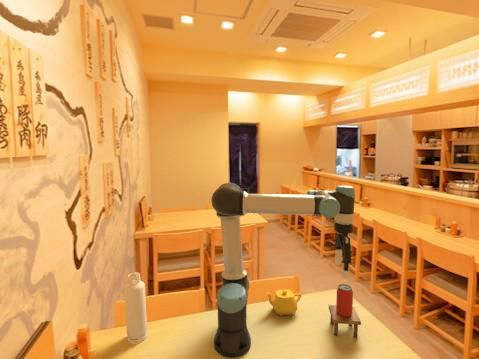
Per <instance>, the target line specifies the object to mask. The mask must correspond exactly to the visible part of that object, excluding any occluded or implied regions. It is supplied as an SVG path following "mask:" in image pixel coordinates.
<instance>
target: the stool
mask: <svg viewBox="0 0 479 359" xmlns="http://www.w3.org/2000/svg"><path fill="white" fill-rule="evenodd" d="M328 310H329V313H330V323H329V324H330V325H333V336H334V337H338V336H339V324H341V325H348V326H350V327H352V326H353V334H352V336H353V338H355V339H358V332H359V329H358V328H359V326H361V325H362V322H361V319H360V317H359V314H358V312H357V310H356V309H355V307H354V306H352V315H351V316H349V317H343V316H340V315H339V314H338V313H337V312H336V304H333V305H332V304H328Z"/></svg>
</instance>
